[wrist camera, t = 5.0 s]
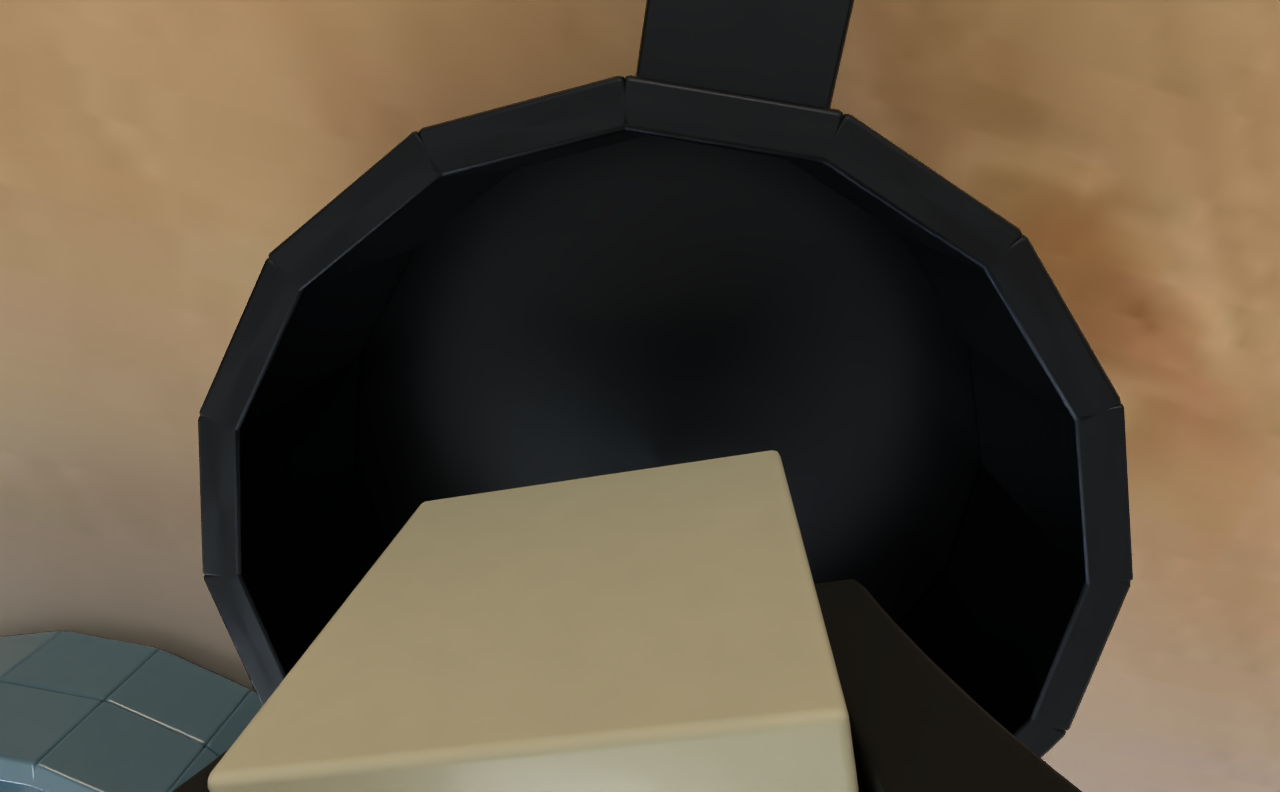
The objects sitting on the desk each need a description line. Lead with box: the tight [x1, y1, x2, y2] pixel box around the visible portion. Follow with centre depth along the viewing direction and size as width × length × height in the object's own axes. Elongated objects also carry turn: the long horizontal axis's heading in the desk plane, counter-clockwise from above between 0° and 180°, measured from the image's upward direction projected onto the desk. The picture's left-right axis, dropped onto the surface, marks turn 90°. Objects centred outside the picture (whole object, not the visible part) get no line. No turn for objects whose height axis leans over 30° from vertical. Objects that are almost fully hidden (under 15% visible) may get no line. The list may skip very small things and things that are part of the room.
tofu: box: [208, 450, 859, 792], centre depth 8 cm, size 4×4×4 cm
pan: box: [198, 0, 1133, 758], centre depth 13 cm, size 13×18×4 cm
